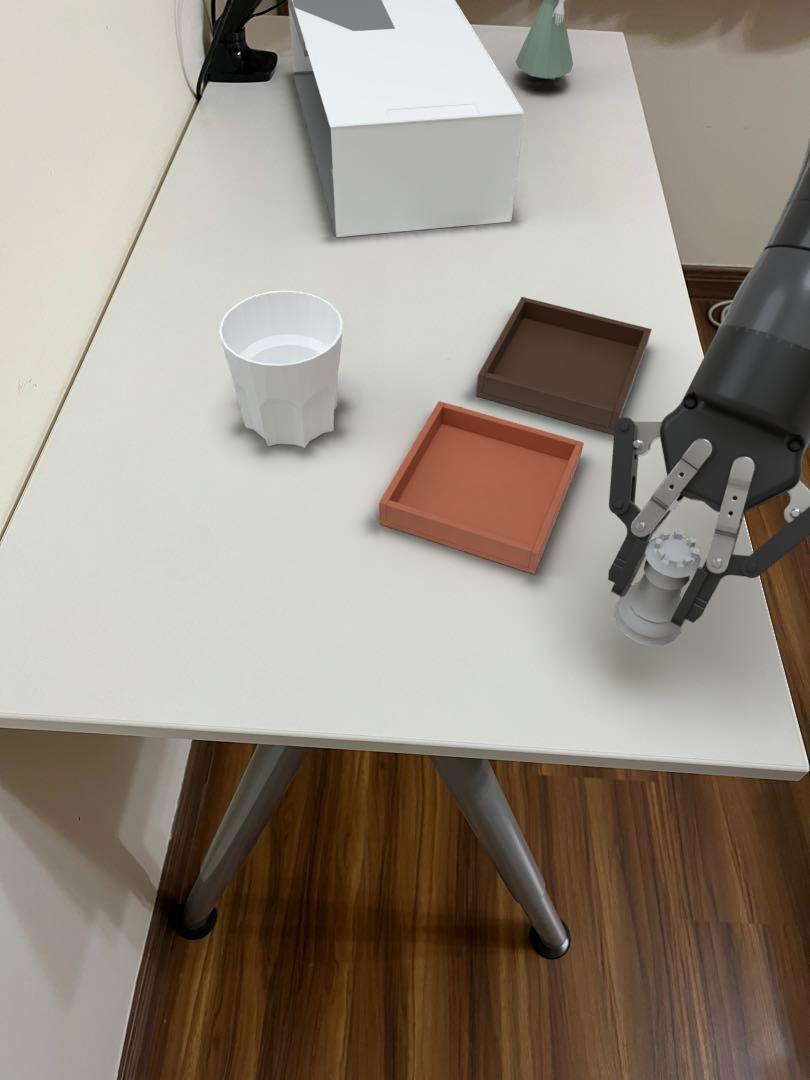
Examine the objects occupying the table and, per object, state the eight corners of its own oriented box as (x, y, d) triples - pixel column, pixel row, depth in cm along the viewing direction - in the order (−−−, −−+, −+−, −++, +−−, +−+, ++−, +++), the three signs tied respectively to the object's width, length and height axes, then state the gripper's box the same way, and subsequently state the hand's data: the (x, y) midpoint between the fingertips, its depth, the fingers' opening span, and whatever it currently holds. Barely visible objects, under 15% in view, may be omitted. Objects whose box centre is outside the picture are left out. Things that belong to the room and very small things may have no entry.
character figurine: (510, 57, 129) (525, -85, 115) (565, 59, 129) (586, -84, 115) (515, 103, 119) (532, -47, 105) (574, 105, 119) (598, -45, 105)
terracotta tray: (578, 463, 74) (584, 442, 72) (534, 574, 66) (539, 554, 64) (437, 422, 77) (438, 400, 75) (379, 524, 69) (378, 502, 67)
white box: (291, 72, 124) (283, -26, 114) (431, 64, 127) (435, -33, 117) (334, 238, 96) (329, 126, 86) (512, 222, 99) (526, 112, 89)
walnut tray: (645, 350, 84) (651, 328, 82) (614, 435, 76) (620, 413, 74) (518, 318, 87) (521, 296, 85) (475, 396, 79) (478, 374, 77)
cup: (301, 367, 81) (292, 276, 74) (369, 420, 77) (367, 329, 69) (214, 413, 77) (195, 322, 69) (281, 472, 72) (268, 382, 65)
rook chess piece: (627, 585, 58) (654, 507, 52) (690, 612, 57) (725, 536, 51) (602, 631, 56) (627, 555, 50) (667, 661, 54) (701, 587, 48)
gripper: (662, 288, 48) (531, 558, 51) (918, 381, 43) (757, 674, 46) (675, 321, 55) (559, 557, 58) (898, 404, 50) (759, 658, 53)
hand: (647, 607), depth 52 cm, fingers closed on rook chess piece, 3 cm apart
